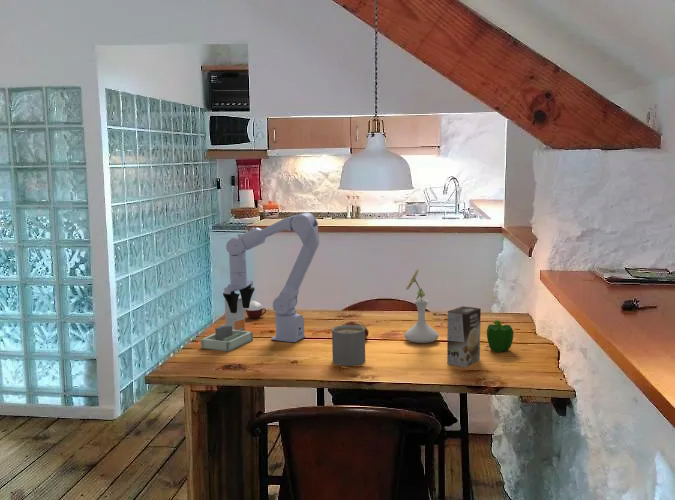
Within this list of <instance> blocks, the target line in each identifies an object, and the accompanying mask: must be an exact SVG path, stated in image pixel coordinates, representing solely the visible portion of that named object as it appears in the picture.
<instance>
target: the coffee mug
mask: <svg viewBox="0 0 675 500" xmlns="http://www.w3.org/2000/svg"><path fill="white" fill-rule="evenodd" d="M331 343H332V350H331V351H332V363H333V364H334V365H337V366H343V367H345V366H346V367H353V366H360V365H362V364H364V363H365V362H366V338H365V328H364V327H362V326H358V325H342V324H341V325H337V326H334V327H332V328H331Z"/></svg>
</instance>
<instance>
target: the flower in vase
mask: <svg viewBox="0 0 675 500" xmlns="http://www.w3.org/2000/svg"><path fill="white" fill-rule="evenodd" d="M418 274H419V268H416V269H415V271H414V272H413V273H412V277H411V278H410V279H409V280H408V284H407V285H406V287H405V290H407V291H408V290H409V289H410V288H411V287H412V285H413V283H415V284H416V285H417V287H418V291H417V292H416V293H417V297H416V299H414V300H413V302H414V304H415V305H416V308H417V321H416V323H415V324H414V325H413V326H411V327H410V328H409V329H408V330H407V331H406V332H405V333H404V338H405V340H407V341H408V342H412V343H415V344H417V343H418V344H419V343H420V344H425V343H426V344H427V343H431V342H434V341H437V340H438V339H439V337H440V336H439V334H438V332H437V331H436V330H435V329H433V327H431V326H430V325H428V323H427V322H426V317H425V316H426V308H427V304H428V303H429V302H430V301H429V299H425V298H423V297H425V296H426V294H425V292H424V290H423V289H422V288H421V287H420V285H419V283H418V281H417V276H418ZM419 297H420V298H419Z"/></svg>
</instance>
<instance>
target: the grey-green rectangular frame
mask: <svg viewBox="0 0 675 500" xmlns="http://www.w3.org/2000/svg"><path fill="white" fill-rule="evenodd" d="M253 336H254V334H253V331H247V330H232V335H231V336H229V337H227V338H224V339H223V341H219V340H216V333H213V334H211V335H210V334H209V335H208V336H206V337H202V338H200V344H201V347H200V348H201V349H205V350H214V351H221V352H228V353H229V352H231V351H233V350H236V349H237V348H240V347H242V346H245V345H246V344H248V343H251V342H252V341H254V337H253Z"/></svg>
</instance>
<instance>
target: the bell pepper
mask: <svg viewBox="0 0 675 500" xmlns="http://www.w3.org/2000/svg"><path fill="white" fill-rule="evenodd" d="M514 334H515V333H514V330H513V327H512V326H511V325H510V324H504V325H503V324H501V321H500V320H498V319H495V320H494V321H493V323H491V324H488V326H487V328H486V337H487V343H488V347H489V349H490V350H491V351H493V352H494V353H495V352H496V353H502V352H508V351H509V350H510V349H511V347H512V344H513V340H514Z"/></svg>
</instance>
